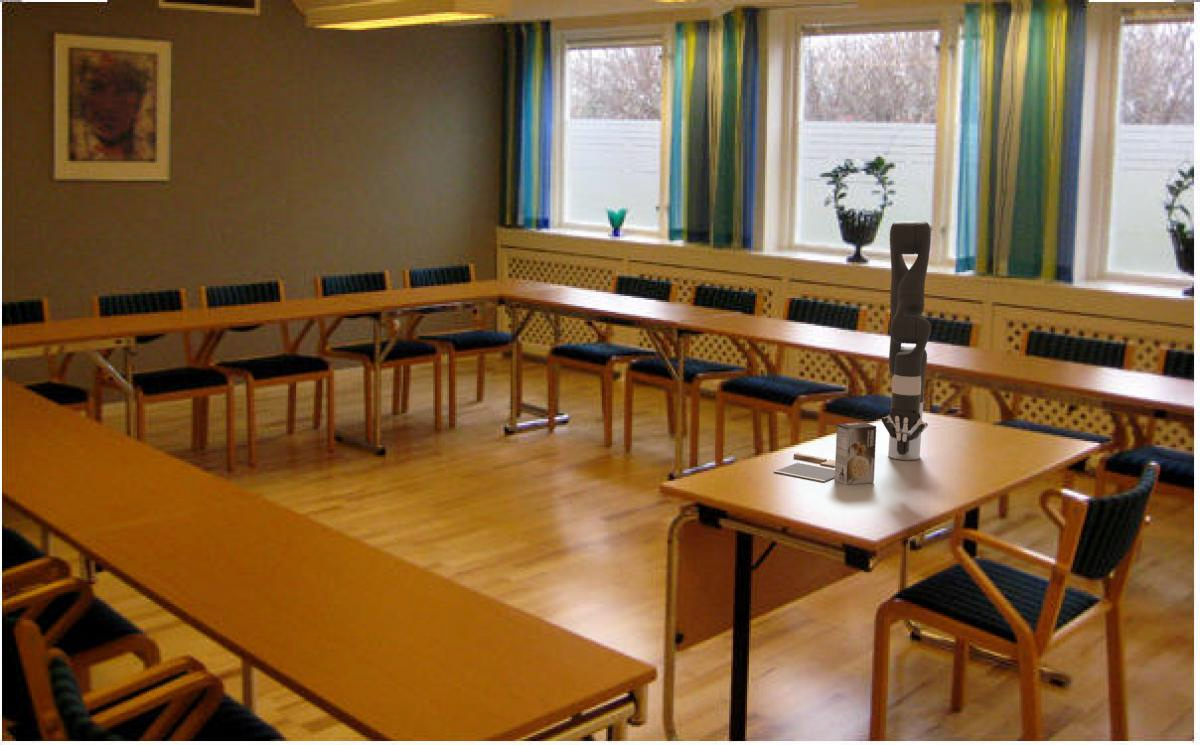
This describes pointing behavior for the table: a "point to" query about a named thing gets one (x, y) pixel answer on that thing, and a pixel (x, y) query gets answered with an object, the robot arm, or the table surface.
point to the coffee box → (855, 453)
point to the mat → (808, 472)
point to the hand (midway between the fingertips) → (902, 454)
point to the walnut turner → (816, 460)
